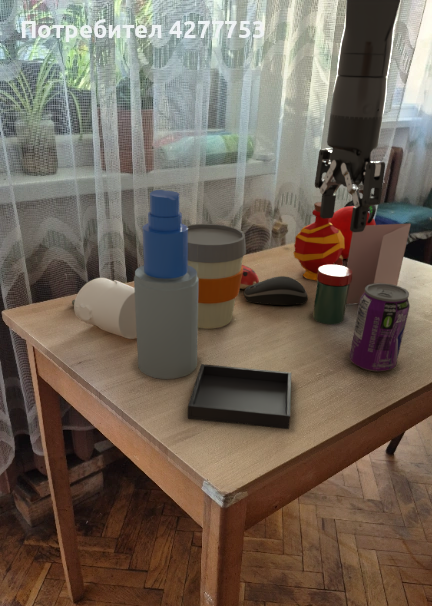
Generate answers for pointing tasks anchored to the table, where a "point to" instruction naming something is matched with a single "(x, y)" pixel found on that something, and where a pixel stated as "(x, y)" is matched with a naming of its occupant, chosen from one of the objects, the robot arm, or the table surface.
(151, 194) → the spray bottle
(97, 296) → the mug
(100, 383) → the table surface
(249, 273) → the ladybug figurine
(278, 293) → the computer mouse
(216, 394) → the tray
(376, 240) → the greeting card
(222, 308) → the reusable coffee cup
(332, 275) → the lid
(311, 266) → the potion bottle
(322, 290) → the jar
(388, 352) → the beverage can
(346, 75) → the robot arm
